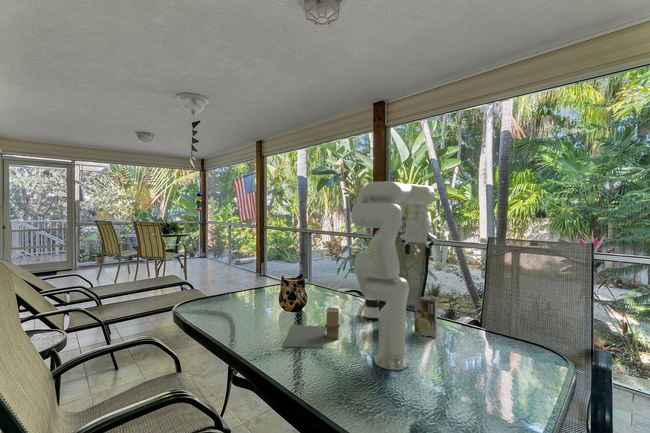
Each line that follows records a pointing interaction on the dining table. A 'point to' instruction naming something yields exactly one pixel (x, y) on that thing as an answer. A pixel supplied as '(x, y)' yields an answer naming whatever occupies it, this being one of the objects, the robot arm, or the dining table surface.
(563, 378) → the dining table surface
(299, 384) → the dining table surface
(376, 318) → the spread jar
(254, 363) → the dining table surface
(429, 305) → the coffee box
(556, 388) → the dining table surface
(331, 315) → the block
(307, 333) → the mat
